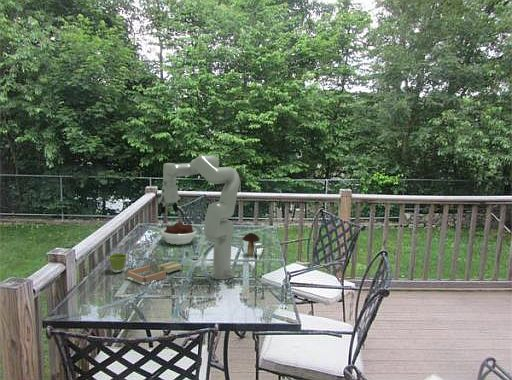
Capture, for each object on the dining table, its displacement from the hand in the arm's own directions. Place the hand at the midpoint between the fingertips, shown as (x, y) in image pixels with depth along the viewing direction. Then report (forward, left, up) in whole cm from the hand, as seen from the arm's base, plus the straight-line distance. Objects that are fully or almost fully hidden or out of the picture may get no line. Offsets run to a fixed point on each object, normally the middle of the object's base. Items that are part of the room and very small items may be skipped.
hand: (169, 211), depth 247 cm
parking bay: (-17, +30, -30) cm, 45 cm away
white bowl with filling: (+23, -30, -30) cm, 48 cm away
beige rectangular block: (-17, +14, -30) cm, 37 cm away
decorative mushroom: (-31, -42, -30) cm, 60 cm away
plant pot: (+3, +34, -30) cm, 45 cm away
